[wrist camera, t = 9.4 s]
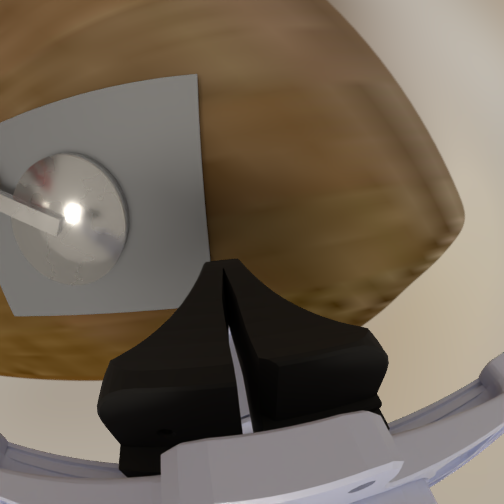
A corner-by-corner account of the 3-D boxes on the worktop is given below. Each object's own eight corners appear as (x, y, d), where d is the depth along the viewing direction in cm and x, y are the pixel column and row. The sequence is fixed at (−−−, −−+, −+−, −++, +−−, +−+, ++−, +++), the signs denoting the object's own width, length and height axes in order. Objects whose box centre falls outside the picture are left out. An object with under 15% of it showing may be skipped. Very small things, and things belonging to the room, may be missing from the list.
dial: (147, 179, 17) (131, 199, 13) (111, 293, 20) (95, 335, 15) (-6, 123, 12) (-47, 132, 8) (-21, 233, 15) (-53, 260, 11)
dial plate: (214, 295, 23) (215, 305, 21) (19, 308, 20) (13, 317, 19) (197, 76, 16) (197, 73, 14) (-27, 138, 13) (-37, 141, 12)
